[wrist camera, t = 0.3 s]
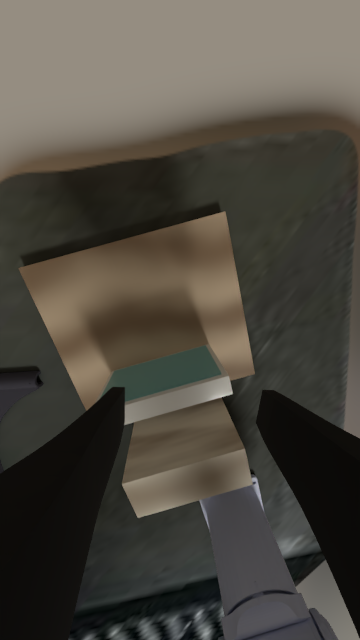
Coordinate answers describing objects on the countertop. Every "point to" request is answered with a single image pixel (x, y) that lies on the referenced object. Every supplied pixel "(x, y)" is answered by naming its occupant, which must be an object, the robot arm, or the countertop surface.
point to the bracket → (16, 389)
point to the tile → (170, 383)
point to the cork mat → (143, 302)
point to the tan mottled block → (184, 458)
